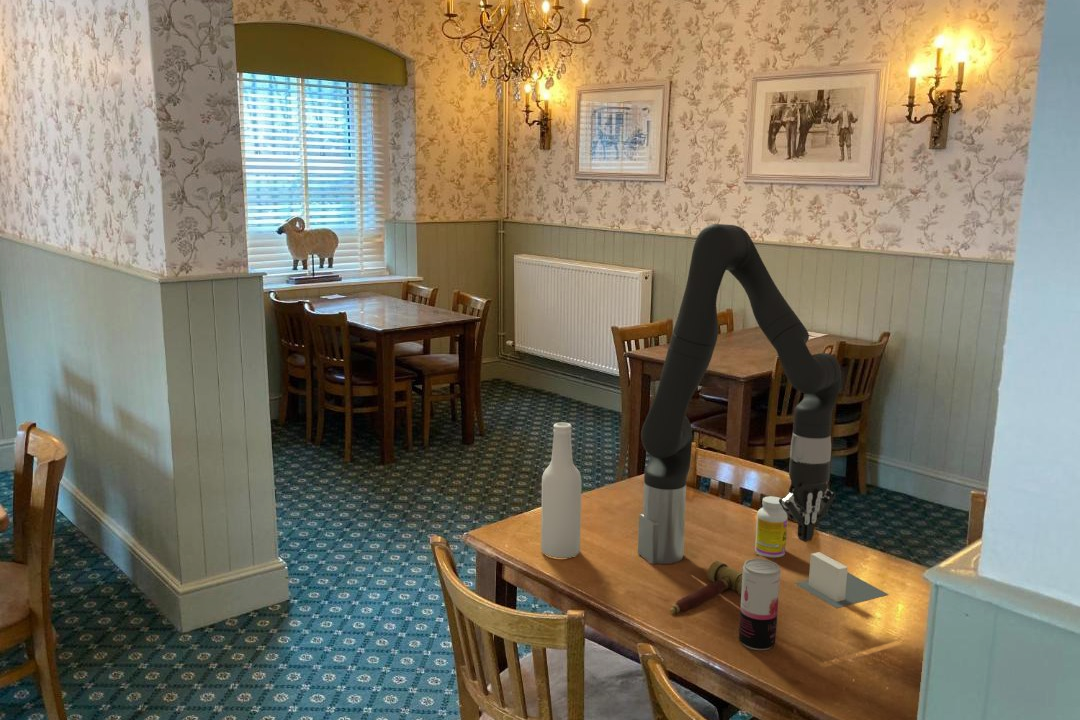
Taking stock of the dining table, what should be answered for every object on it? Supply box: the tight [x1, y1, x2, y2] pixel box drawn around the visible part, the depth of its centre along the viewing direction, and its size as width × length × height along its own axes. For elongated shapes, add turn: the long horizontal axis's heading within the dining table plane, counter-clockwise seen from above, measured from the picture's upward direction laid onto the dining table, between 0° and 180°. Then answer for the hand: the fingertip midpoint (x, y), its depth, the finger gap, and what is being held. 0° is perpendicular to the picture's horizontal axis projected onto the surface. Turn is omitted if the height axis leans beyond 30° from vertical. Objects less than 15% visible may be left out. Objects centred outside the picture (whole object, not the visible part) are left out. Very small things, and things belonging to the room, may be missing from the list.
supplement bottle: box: [754, 495, 789, 558], centre depth 199 cm, size 7×7×13 cm
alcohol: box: [540, 421, 582, 558], centre depth 197 cm, size 9×9×30 cm
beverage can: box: [738, 558, 781, 651], centre depth 161 cm, size 7×7×15 cm
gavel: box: [669, 560, 743, 614], centre depth 178 cm, size 21×5×10 cm
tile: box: [808, 551, 848, 602], centre depth 180 cm, size 2×8×7 cm, turn 26°
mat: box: [794, 571, 890, 609], centre depth 183 cm, size 14×12×1 cm
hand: (805, 540), depth 175 cm, fingers closed
